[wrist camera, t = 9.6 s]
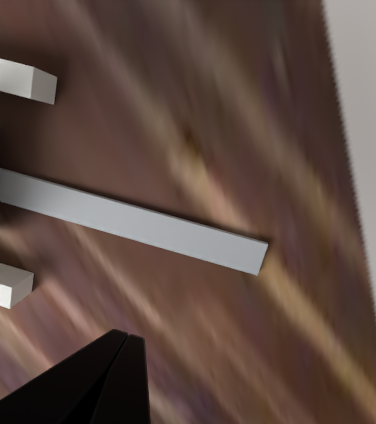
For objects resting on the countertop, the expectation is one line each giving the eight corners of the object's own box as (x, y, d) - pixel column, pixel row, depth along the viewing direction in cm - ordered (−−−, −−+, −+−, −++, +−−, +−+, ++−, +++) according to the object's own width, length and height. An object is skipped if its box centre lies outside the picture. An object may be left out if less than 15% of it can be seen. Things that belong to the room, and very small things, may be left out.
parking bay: (228, 352, 18) (229, 392, 15) (-159, 234, 20) (-225, 248, 17) (302, 139, 15) (322, 137, 12) (-175, 18, 16) (-261, -11, 13)
